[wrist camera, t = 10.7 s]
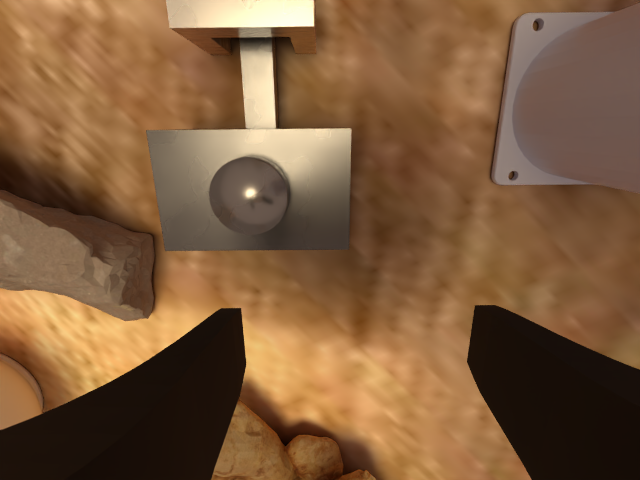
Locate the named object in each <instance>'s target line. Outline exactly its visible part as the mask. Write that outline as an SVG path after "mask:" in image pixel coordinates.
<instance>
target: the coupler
mask: <svg viewBox="0 0 640 480" xmlns="http://www.w3.org/2000/svg"><path fill="white" fill-rule="evenodd" d="M239 39H240V53H241V67H242V81H243V94H244V108H245V122H246V129H182V130H146V133H147V139H148V145H149V152H150V158H151V164H152V170H153V177H154V183H155V189H156V196H157V202H158V208H159V215H160V221H161V227H162V233H163V240H164V246H165V251H209V250H345V249H349V228H350V173H351V128H279V121H278V99H277V76H276V53H275V37H239Z"/></svg>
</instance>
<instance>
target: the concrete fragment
mask: <svg viewBox="0 0 640 480" xmlns="http://www.w3.org/2000/svg"><path fill="white" fill-rule="evenodd" d="M154 256H155V254H154V247H153V236H152V235H150V234H146V233H139V232H138V233H135V232H132V231H129V230H127V229H125V228H123V227H121V226H119V225H118V224H115V223H112V222H108V221H105V220H103V219H100V218H97V217H94V216H83V215H75V214H73V213H71V212H69V211H67V210H64V209H61V208H51V207H43V206H41V205H40V204H38V203H34V202H31V201H29V200H26V199H22V198H19V197H18V196H16V195H14V194H11V193H9V192H7V191H5V190H0V288H3V289H7V290H14V291H23V290H38V291H46V292H51V293H56V294H58V295H65V296H68V297H71V298H73V299H75V300H77V301H80V302H82V303H84V304H87V305H90V306H92V307H94V308H97V309H99V310H101V311H103V312H106V313H108V314H110V315H112V316H114V317H117V318H120V319H122V320H124V321H132V320H138V319H143V318H147V319H148V318H149V316H150V314H151V313H152V307H153V301H154V295H153V290H152V283H151V275H152V268H153V263H154Z"/></svg>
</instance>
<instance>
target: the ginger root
mask: <svg viewBox="0 0 640 480" xmlns="http://www.w3.org/2000/svg"><path fill="white" fill-rule="evenodd" d="M343 467H344V466H343V462H342V459H341V454H340V450H339V447H338V444H337V443H336V442H335V441H334V440H332V439H330V438H328V437H316V436H311V435H298V436H296V437H295V438H294V439H292V440H291V441H290V442H289V443H288V445H287V446H284V444H283V443H282V442H281V440H280V438H279V436H278V435H277V433H276V432H275V431H273V430H272V429H271V428H270V427H269V426H268V425H267V424H266V423H265V422H264V421H263V420H262V419H261V418H260V417H259V416H258V415H256V414H255V413H253V412H252V411H251V410H250V409H249V408H248V407H247V406H246V405H245V404H244V403H243V402H241V401H240V400H238V402H237V405H236V408H235V411H234V414H233V417H232V420H231V423H230V425H229V428H228V431H227V434H226V437H225V440H224V443H223V446H222V448H221V451H220V454H219V457H218V460H217V463H216V466H215V469H214V472H213V475H212V479H211V480H376V478H375V477H373V476H372V475H371V474H370V473H369V472H368V471H367V470H365V471H362V470H360V469H358V470H356V471H354V472H352V473H349V474H346V475H343V476H342V473H343Z"/></svg>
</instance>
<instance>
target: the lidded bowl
mask: <svg viewBox="0 0 640 480" xmlns="http://www.w3.org/2000/svg"><path fill="white" fill-rule="evenodd" d="M43 404H44V402H43V395H42V391H41V389H40V387H39V384H38V383H37V381H36V380H35V378H34V377H33V376H32V375H31V373H30V372H29V371H28V370H27V369H26V368H24V367H23V366H22V365H21V364H19V363H18V362H17V361H15V360H14V359H12V358H10V357H8V356H6V355H4V354H1V353H0V430H2V429H5V428H7V427H10V426H13V425H15V424H18V423H20V422H23V421H25V420H28V419H30V418H33V417H35V416H38V415H40V414H42V410H43Z"/></svg>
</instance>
